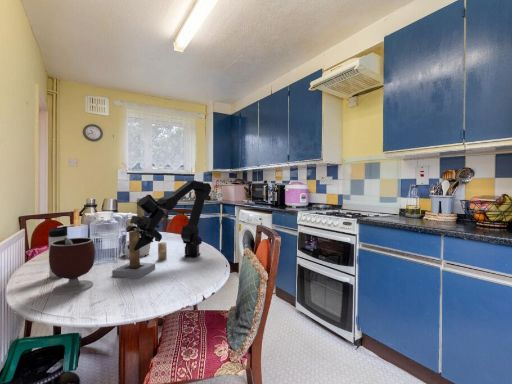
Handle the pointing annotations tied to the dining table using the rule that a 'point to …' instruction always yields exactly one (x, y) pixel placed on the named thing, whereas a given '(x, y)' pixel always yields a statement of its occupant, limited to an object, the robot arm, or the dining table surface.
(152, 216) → the robot arm
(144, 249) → the ramekin
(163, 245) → the short beech pin
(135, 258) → the walnut pin
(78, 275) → the mate gourd
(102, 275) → the dining table surface
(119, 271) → the socket board
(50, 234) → the travel mug
